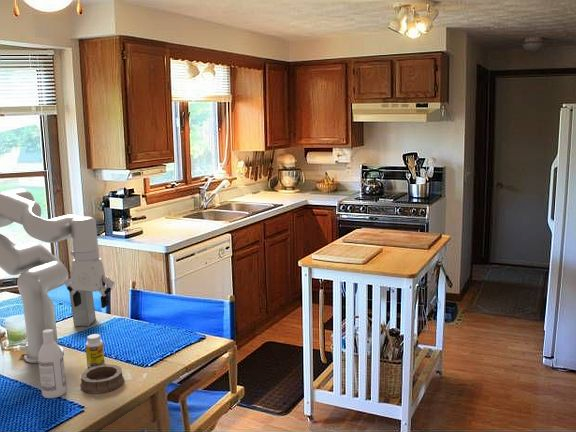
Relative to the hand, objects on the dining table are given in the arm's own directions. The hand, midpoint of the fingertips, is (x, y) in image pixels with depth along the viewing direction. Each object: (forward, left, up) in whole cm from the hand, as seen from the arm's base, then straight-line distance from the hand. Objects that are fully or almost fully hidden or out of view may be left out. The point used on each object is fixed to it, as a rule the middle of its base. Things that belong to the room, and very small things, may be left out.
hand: (91, 306), depth 190 cm
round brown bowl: (+9, -12, -21) cm, 25 cm away
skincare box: (-25, +35, -21) cm, 48 cm away
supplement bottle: (0, 0, -21) cm, 21 cm away
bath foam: (-3, -20, -21) cm, 29 cm away
